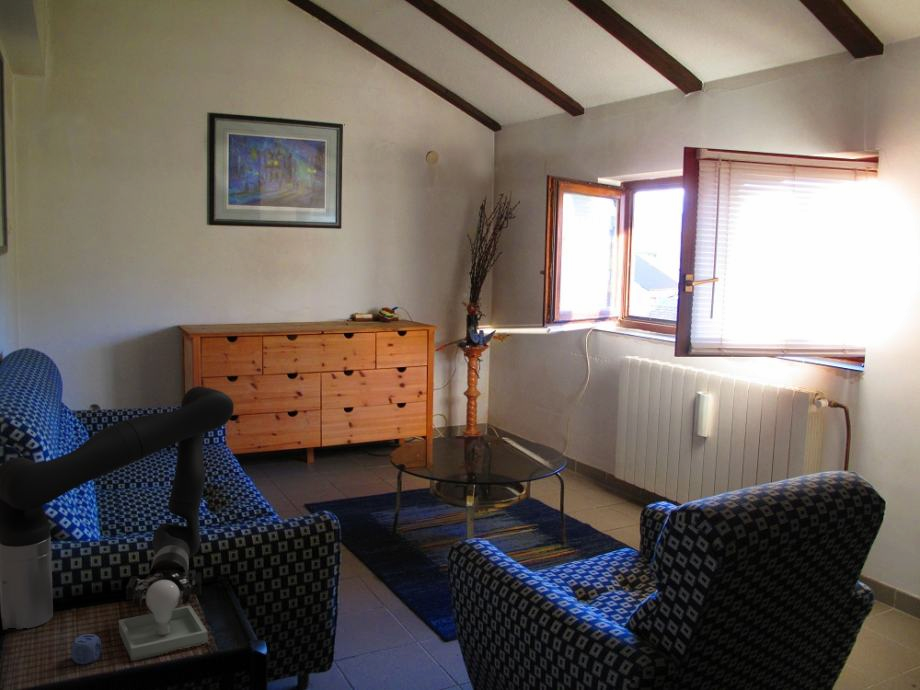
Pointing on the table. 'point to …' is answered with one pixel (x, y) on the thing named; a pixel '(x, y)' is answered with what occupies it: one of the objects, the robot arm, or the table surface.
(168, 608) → the lightbulb
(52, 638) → the table surface
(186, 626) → the parts tray
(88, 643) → the decorative dice
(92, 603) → the table surface
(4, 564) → the robot arm
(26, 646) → the table surface
